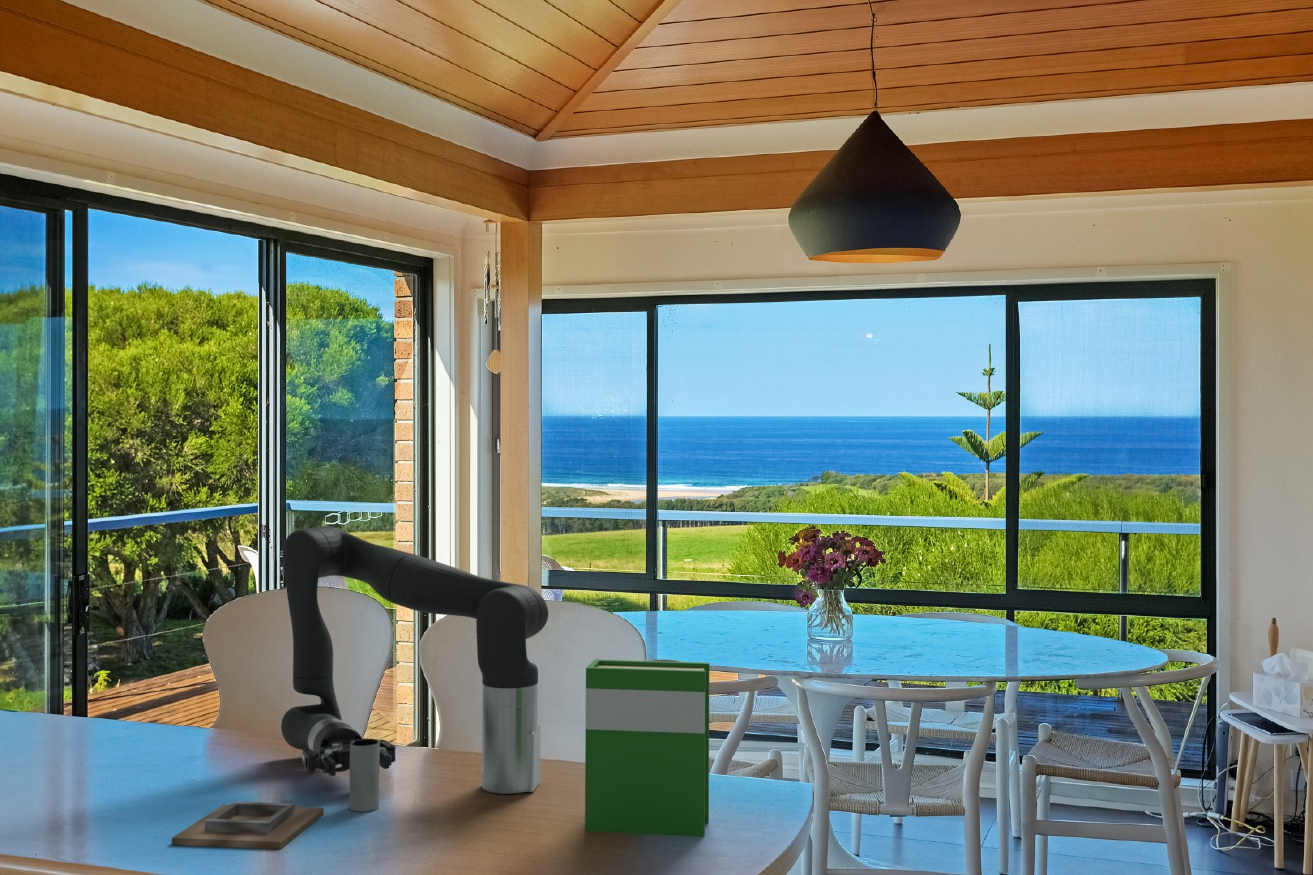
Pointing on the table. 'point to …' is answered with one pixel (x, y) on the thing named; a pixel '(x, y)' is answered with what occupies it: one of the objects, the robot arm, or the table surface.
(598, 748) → the hardback book
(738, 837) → the table surface
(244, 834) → the base
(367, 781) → the grey cylinder
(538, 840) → the table surface
